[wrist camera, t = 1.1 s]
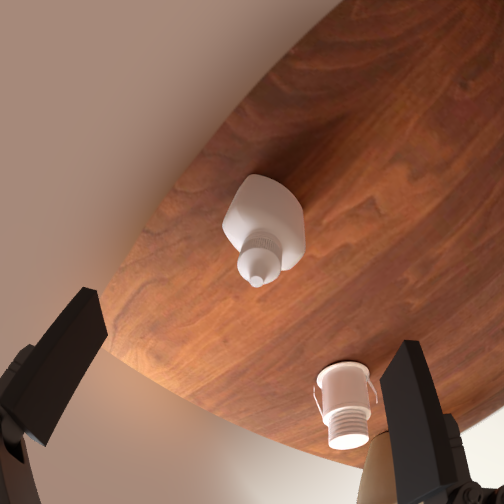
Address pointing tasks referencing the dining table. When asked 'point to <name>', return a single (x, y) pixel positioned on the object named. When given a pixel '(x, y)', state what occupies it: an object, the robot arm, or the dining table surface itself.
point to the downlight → (345, 403)
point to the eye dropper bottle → (265, 229)
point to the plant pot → (378, 474)
